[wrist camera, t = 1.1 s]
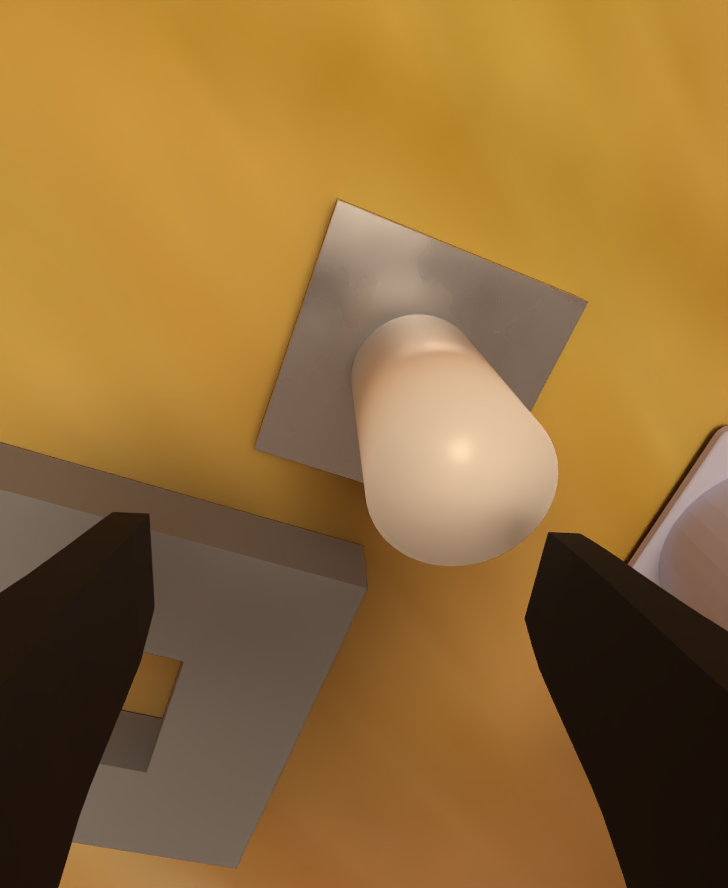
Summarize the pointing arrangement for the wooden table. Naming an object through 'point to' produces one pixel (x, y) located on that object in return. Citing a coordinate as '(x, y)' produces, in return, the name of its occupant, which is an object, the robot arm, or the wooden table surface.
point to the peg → (446, 446)
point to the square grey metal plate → (391, 296)
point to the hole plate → (196, 651)
